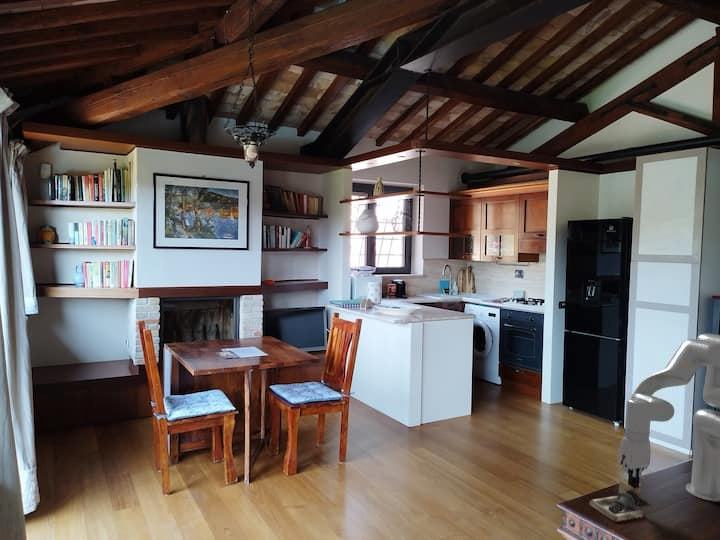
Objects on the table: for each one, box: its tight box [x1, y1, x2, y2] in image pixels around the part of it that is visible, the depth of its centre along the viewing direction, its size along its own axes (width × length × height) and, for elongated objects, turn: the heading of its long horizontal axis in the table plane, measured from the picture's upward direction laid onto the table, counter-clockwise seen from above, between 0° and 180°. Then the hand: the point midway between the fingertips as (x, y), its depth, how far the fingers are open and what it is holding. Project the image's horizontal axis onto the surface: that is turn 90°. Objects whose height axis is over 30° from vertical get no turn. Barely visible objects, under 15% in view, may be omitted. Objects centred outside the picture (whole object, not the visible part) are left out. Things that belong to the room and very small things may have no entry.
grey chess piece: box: [609, 490, 640, 514], centre depth 180 cm, size 6×6×12 cm
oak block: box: [618, 478, 642, 499], centre depth 192 cm, size 5×5×5 cm
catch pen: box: [589, 495, 644, 523], centre depth 181 cm, size 12×11×2 cm
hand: (633, 486), depth 183 cm, fingers closed
